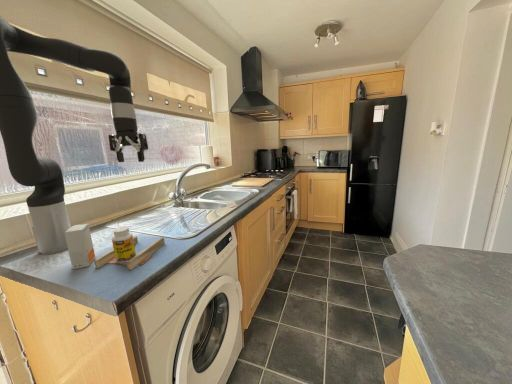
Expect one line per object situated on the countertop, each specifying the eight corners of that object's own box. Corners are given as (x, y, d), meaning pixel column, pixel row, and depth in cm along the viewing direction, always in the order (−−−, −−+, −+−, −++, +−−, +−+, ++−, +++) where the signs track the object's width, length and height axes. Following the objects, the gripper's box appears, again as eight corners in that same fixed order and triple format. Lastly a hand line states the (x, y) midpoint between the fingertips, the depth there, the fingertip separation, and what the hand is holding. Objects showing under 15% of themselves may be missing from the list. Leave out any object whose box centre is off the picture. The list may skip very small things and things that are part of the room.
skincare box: (89, 266, 64) (81, 229, 61) (72, 269, 62) (63, 232, 59) (96, 257, 69) (88, 223, 67) (80, 260, 68) (72, 225, 65)
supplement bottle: (115, 265, 63) (109, 234, 61) (116, 257, 68) (110, 228, 65) (136, 259, 66) (131, 229, 64) (135, 252, 71) (130, 224, 68)
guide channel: (91, 267, 63) (89, 260, 62) (131, 242, 79) (130, 236, 79) (135, 270, 61) (134, 262, 60) (168, 243, 77) (167, 237, 77)
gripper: (98, 117, 74) (107, 163, 77) (134, 115, 72) (141, 162, 75) (115, 120, 81) (122, 161, 85) (148, 118, 79) (154, 160, 82)
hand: (131, 161), depth 80 cm, fingers open, 8 cm apart
